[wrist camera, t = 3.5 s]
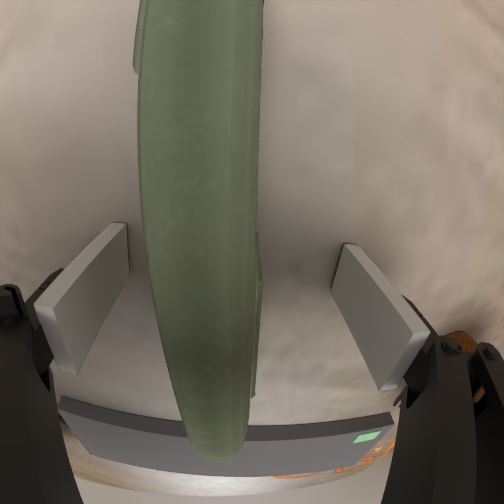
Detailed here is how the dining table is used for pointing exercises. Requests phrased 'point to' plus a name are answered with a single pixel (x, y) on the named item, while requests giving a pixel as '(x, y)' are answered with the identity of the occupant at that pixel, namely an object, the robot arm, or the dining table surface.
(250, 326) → the handheld radio
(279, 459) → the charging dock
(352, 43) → the dining table surface
